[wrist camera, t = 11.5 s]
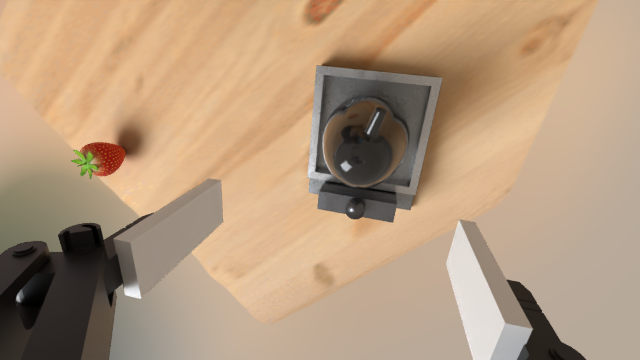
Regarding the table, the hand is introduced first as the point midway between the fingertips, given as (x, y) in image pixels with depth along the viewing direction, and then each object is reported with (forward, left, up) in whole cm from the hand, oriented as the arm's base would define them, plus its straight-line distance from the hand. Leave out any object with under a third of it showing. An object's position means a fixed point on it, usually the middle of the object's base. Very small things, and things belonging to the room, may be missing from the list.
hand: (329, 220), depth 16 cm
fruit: (+10, -40, -27) cm, 50 cm away
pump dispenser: (0, 0, -26) cm, 26 cm away
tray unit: (+2, +1, -27) cm, 27 cm away
